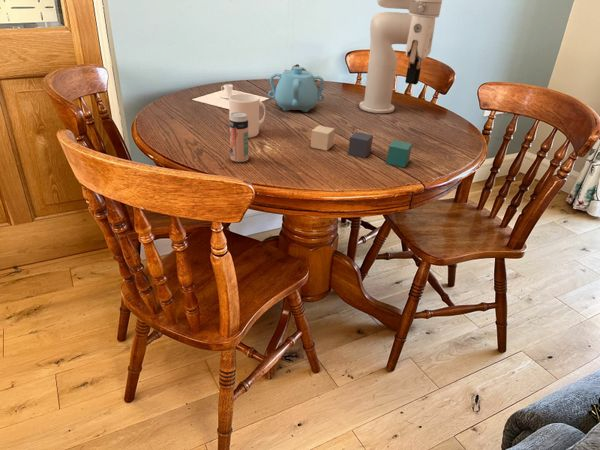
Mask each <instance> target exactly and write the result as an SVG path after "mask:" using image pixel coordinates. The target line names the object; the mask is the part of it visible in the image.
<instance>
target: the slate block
mask: <svg viewBox="0 0 600 450" xmlns="http://www.w3.org/2000/svg"><path fill="white" fill-rule="evenodd" d="M373 138H374V135H373V134H369V133H364V132H359V131H355V132H354V133H352V135H351V136H350V137H349V141H348V142H349V143H348V150H347V151H348V152H347V154H348V155H350V156H354V157H359V158H363V159H366V158H367V157H368V156H369V155H370V153H371V152H372V147H373Z"/></svg>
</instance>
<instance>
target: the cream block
mask: <svg viewBox="0 0 600 450" xmlns="http://www.w3.org/2000/svg"><path fill="white" fill-rule="evenodd" d="M335 130H336V128H335V127H329V126H325V125H324V126H323V125H319V124H318V125H317V126H316V127H314V128H313V129H312V130H311V135H310V136H311V137H310V148H313V149H317V150H322V151H325V152H326V151H327V152H328V151H329V150H330V149H331V148H333V146H334V141H335Z"/></svg>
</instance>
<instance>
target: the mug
mask: <svg viewBox="0 0 600 450" xmlns="http://www.w3.org/2000/svg"><path fill="white" fill-rule="evenodd" d="M252 94H253V93H249V94H234V95H231V96H230V97H229V109H228V113H229V117H230V116H231V114H232V113H235V112H242V113H245V114H246V115H247V117H248V139H251V138H255V137H257V136H258V135H259V133H260V126H261V125H262V124H263V123H264V121H265V119H266V113H267V112H266V110H267V109H266V106H265V104H264V102H263V101H259V97H258V96H259V95H257V94H253V95H252ZM256 95H257V96H256ZM260 107H261V108H262V109H263V116H262V117H261V119H260ZM229 117H228V118H229Z"/></svg>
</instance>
